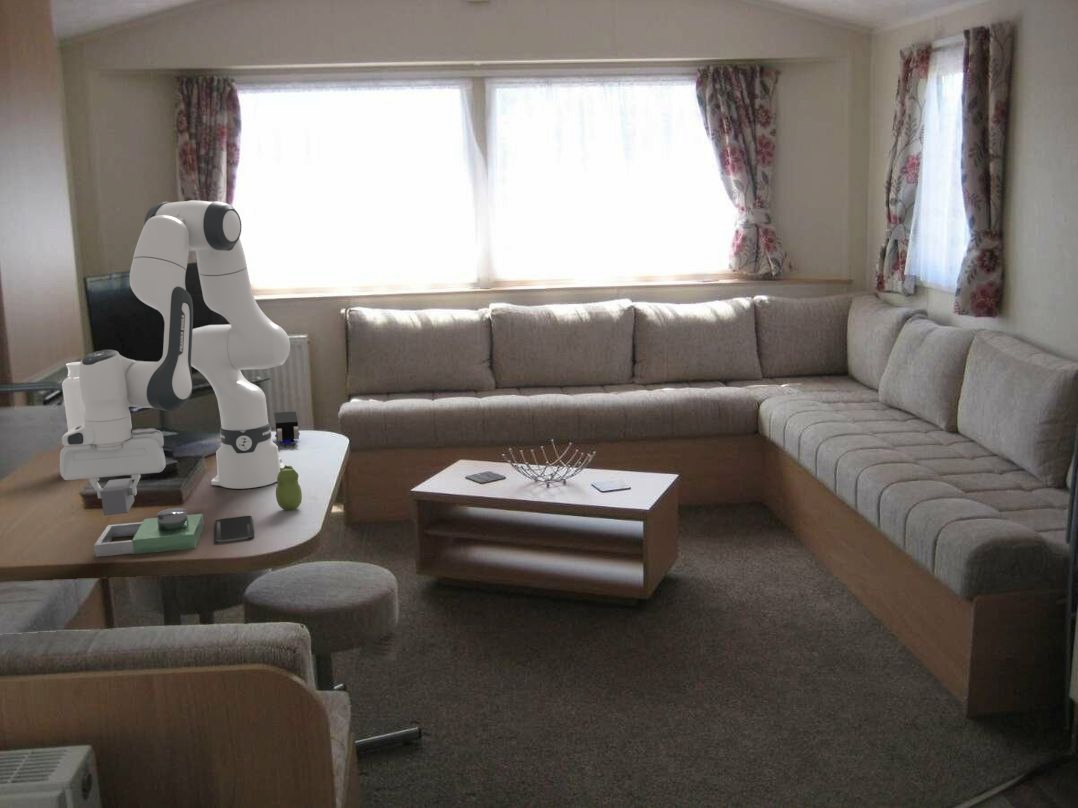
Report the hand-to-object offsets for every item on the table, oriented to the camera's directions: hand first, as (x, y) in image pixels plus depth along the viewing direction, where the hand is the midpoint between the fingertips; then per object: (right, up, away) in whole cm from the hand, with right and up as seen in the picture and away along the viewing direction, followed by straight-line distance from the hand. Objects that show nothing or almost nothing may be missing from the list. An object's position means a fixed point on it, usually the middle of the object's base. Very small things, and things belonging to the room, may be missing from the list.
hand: (117, 496), depth 230 cm
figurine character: (+16, +8, +84) cm, 86 cm away
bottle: (-32, +2, +66) cm, 73 cm away
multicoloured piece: (+6, -10, +3) cm, 12 cm away
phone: (+22, -9, +8) cm, 25 cm away
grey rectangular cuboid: (0, -3, +1) cm, 3 cm away
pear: (+31, -5, +21) cm, 38 cm away
